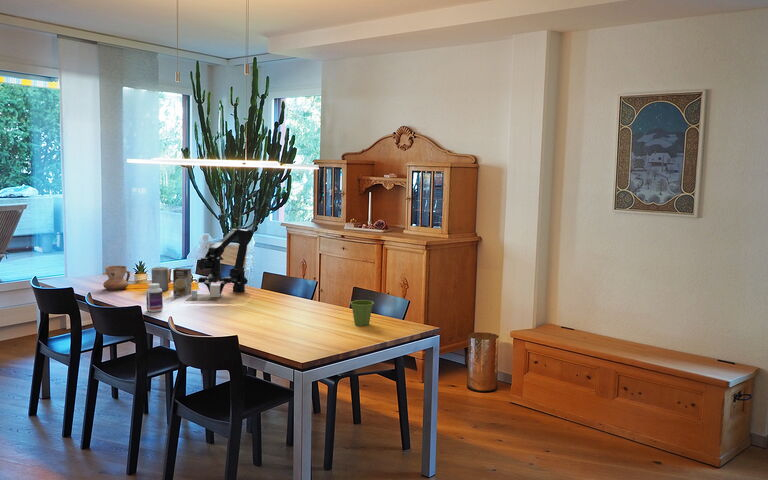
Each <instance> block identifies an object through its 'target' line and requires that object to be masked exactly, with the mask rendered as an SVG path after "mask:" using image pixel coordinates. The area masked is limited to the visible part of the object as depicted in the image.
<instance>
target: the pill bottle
mask: <svg viewBox="0 0 768 480" xmlns="http://www.w3.org/2000/svg"><path fill="white" fill-rule="evenodd" d="M159 287H160V284H158V283H153V284H152V283H149V284H148V288H147V289H146V291H145V292H146V293H145V294H146V295H145V296H146V311H147V312H148V311H149V313H158V312H159V313H160V312H162V311H163V309H164V308H163V307H164V306H163V304H164V303H163V291H162V289H161V288H159Z"/></svg>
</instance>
